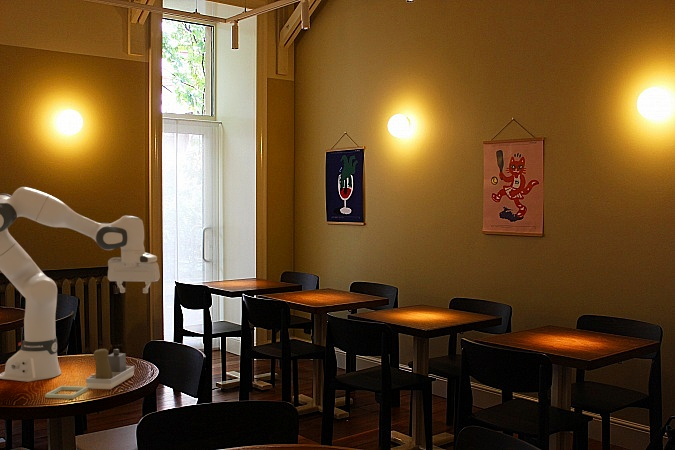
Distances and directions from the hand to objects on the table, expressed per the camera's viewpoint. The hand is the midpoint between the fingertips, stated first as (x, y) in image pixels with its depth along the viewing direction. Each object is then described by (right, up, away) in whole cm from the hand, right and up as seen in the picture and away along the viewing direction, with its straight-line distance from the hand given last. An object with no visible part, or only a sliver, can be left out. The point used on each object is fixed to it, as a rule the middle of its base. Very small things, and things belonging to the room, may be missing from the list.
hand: (134, 292), depth 280 cm
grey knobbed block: (-4, -30, -8) cm, 31 cm away
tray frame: (-16, -33, -27) cm, 46 cm away
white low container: (-5, -32, -12) cm, 34 cm away
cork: (-6, -30, -17) cm, 35 cm away
